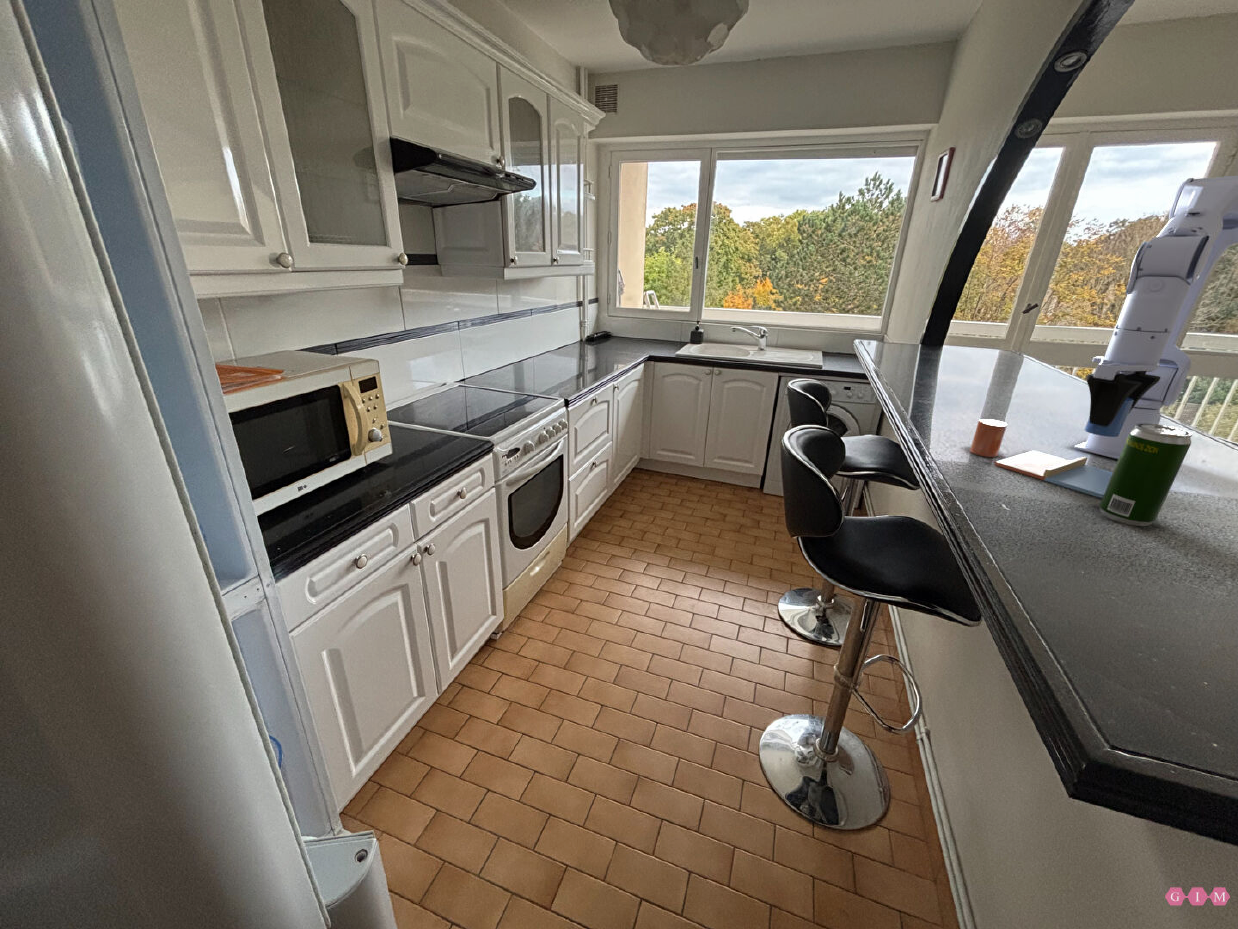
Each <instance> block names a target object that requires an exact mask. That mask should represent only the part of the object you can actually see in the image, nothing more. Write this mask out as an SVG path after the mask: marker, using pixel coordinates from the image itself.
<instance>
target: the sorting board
mask: <svg viewBox="0 0 1238 929" xmlns="http://www.w3.org/2000/svg"><path fill="white" fill-rule="evenodd" d="M1087 460H1088V457H1086V456H1081V457H1080V456H1079V457H1077V458H1074V459H1071V460H1070V459H1066V458H1063V457H1059V456H1054V455H1051V454H1047V453H1044V452H1041V451H1038V450H1031V451H1030V450H1029V451H1027V452H1024V453H1020V454H1015V455H1013V456H1010V457H1007V458H1006V457H1005V458H1003V459H1000V460H997V461H995V462H994V464H993V465H994V466H995V467H999V468H1003V469H1006V470H1009V471H1013V472H1015V473H1018V474H1022V475H1025V476H1028V477H1031V478H1035V479H1038V480H1041V481H1044V482H1048V483H1051V484H1054V485H1057V486H1060V487H1064V488H1066V489H1070V490H1073V491H1077V492H1079V493H1082V494H1087V495H1089V496H1092V497H1096V498H1099V499H1102V498H1103V496H1104V493H1105V491H1106V489H1107V486H1108V484H1109V481H1110V479H1111V476H1112V474H1113V472H1114V471H1110V470H1106V469H1102V468H1099V467H1095V466H1091V465H1088V464H1087Z"/></svg>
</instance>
